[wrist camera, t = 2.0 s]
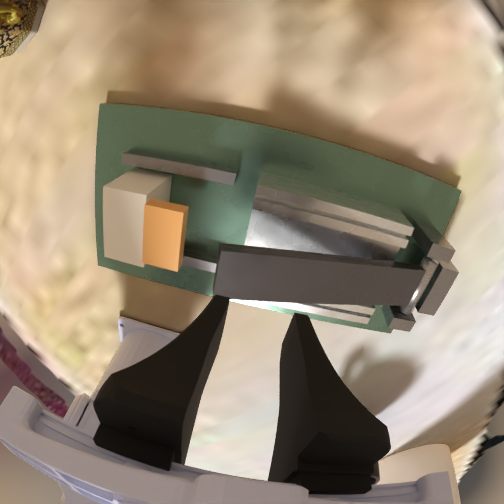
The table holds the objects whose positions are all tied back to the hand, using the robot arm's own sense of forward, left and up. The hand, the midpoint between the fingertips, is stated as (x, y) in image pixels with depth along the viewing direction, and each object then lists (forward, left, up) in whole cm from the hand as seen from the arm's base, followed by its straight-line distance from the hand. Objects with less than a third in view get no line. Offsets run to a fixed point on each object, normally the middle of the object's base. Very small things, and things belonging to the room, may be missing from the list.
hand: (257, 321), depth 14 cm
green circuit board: (0, +1, -10) cm, 10 cm away
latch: (0, +8, -10) cm, 12 cm away
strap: (0, -4, -6) cm, 7 cm away
